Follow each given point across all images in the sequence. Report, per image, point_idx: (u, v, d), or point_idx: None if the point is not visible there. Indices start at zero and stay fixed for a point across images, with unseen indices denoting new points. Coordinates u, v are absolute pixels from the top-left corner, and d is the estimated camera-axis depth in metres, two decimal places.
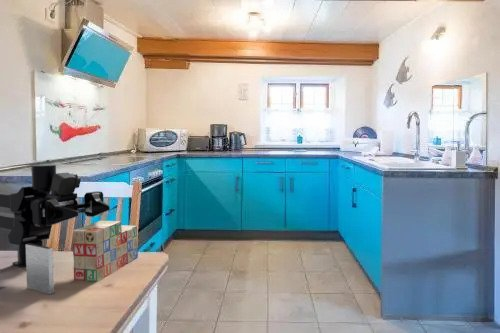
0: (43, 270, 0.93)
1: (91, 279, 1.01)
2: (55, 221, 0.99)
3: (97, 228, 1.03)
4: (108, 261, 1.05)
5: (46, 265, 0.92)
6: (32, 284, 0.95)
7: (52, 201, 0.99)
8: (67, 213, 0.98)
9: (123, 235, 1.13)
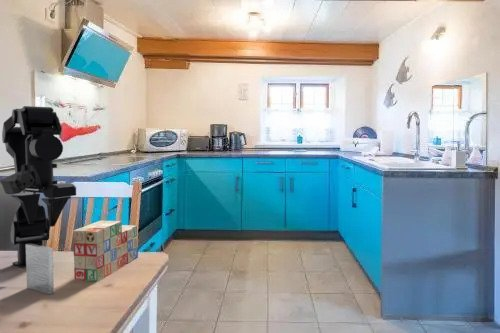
0: (43, 270, 0.93)
1: (91, 279, 1.01)
2: None
3: (97, 228, 1.03)
4: (109, 261, 1.06)
5: (46, 265, 0.92)
6: (32, 284, 0.95)
7: (15, 198, 1.02)
8: None
9: (123, 235, 1.13)
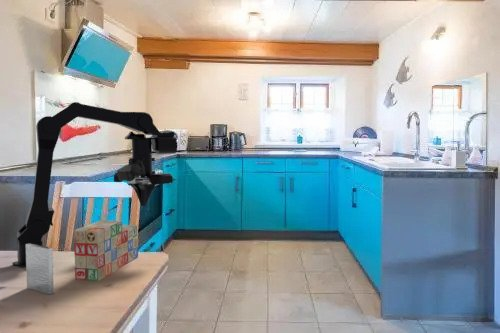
0: (43, 270, 0.93)
1: (92, 278, 1.02)
2: None
3: (98, 228, 1.04)
4: (109, 260, 1.06)
5: (46, 265, 0.92)
6: (32, 284, 0.95)
7: (131, 185, 1.27)
8: None
9: (124, 235, 1.14)
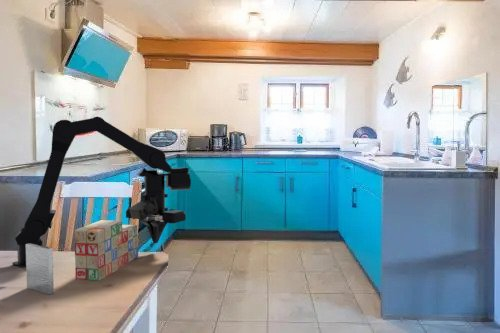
0: (43, 270, 0.93)
1: (93, 278, 1.02)
2: None
3: (98, 227, 1.04)
4: (109, 260, 1.06)
5: (46, 265, 0.92)
6: (32, 284, 0.95)
7: (144, 222, 1.25)
8: None
9: (124, 234, 1.14)
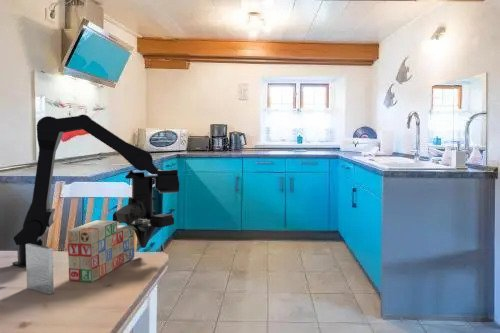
0: (43, 270, 0.93)
1: (86, 279, 1.00)
2: None
3: (92, 228, 1.03)
4: (104, 261, 1.05)
5: (46, 265, 0.92)
6: (32, 284, 0.95)
7: None
8: None
9: (119, 235, 1.13)
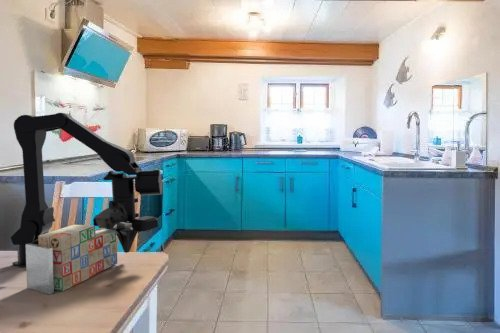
0: (43, 270, 0.93)
1: (57, 288, 0.95)
2: None
3: (65, 233, 0.97)
4: (78, 268, 0.99)
5: (46, 265, 0.92)
6: (32, 284, 0.95)
7: None
8: None
9: (98, 240, 1.06)
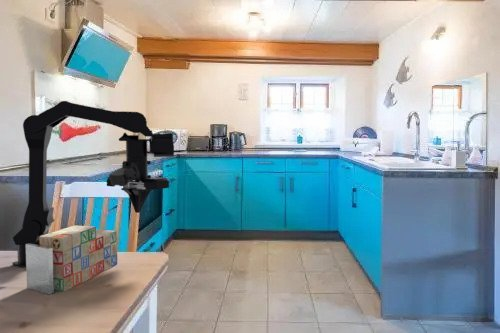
0: (43, 270, 0.93)
1: (58, 288, 0.95)
2: None
3: (66, 234, 0.97)
4: (79, 269, 0.99)
5: (46, 265, 0.92)
6: (32, 284, 0.95)
7: (125, 190, 1.19)
8: None
9: (98, 241, 1.07)
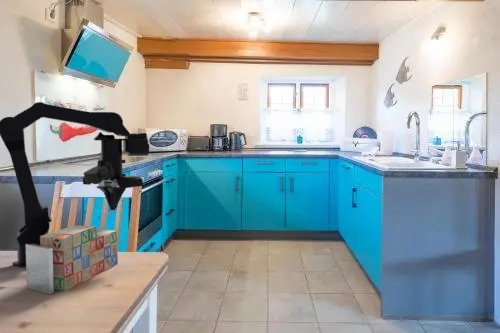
0: (43, 270, 0.93)
1: (59, 288, 0.95)
2: None
3: (66, 234, 0.97)
4: (79, 269, 0.99)
5: (46, 265, 0.92)
6: (32, 284, 0.95)
7: (100, 188, 1.22)
8: None
9: (99, 241, 1.07)
